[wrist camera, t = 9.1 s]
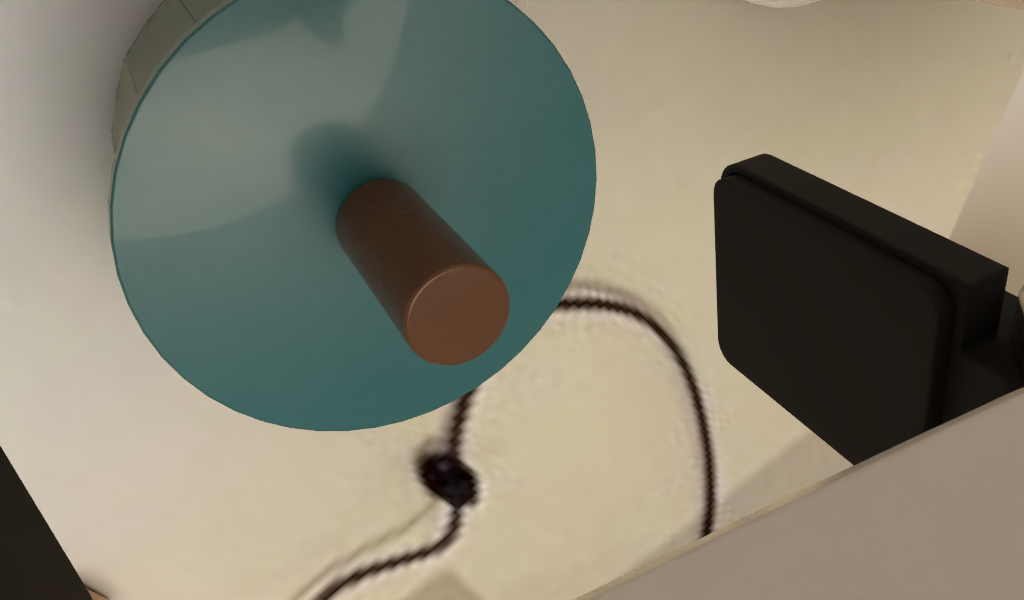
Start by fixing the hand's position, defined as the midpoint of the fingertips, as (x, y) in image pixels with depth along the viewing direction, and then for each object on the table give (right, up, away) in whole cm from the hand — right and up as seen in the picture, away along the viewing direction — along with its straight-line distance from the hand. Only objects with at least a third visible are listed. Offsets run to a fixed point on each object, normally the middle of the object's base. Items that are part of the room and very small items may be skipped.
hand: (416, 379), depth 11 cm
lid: (-2, +3, +12) cm, 13 cm away
